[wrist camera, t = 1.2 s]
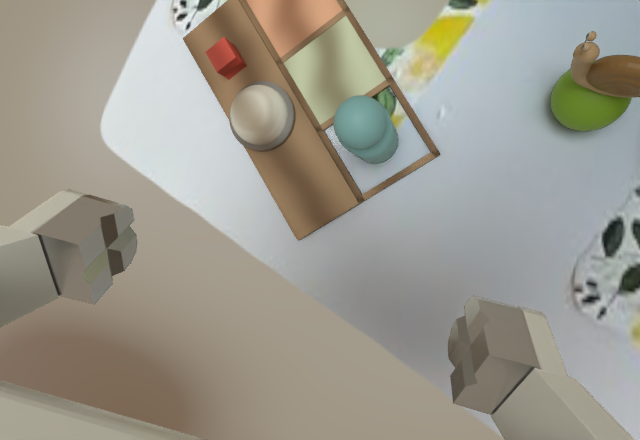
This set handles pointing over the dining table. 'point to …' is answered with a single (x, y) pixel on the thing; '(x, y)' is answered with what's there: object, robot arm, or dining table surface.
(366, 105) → the pawn
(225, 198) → the dining table surface
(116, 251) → the robot arm
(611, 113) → the snail figurine
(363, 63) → the game board
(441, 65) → the dining table surface
